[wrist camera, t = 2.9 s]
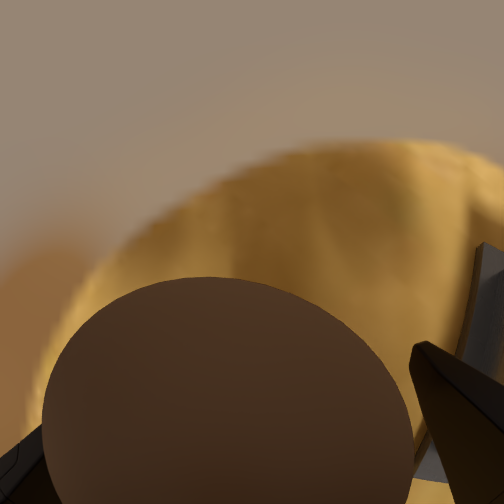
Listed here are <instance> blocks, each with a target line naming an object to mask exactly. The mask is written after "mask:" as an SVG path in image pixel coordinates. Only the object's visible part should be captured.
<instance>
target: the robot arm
mask: <svg viewBox="0 0 504 504" xmlns="http://www.w3.org/2000/svg"><path fill="white" fill-rule="evenodd" d="M409 371H410V375H411V378H412V381H413V384H414V388H415V391H416V394H417V398H418V401H419V405H420V408H421V411H422V414H423V417H424V420H425V422H426V425H427V427H428V430H429V432H430V435H431V437H432V440H433V442H434V445H435V447H436V450H437V453H438V455H439V458H440V461H441V463H442V466H443V469H444V472H445V475H446V477H447V480H448V483H449V486H450V489H451V492H452V495H453V499H454V502H455V504H504V385H502V384H501V383H499V382H497V381H496V380H494V379H492V378H490V377H489V376H487V375H485V374H484V373H482V372H480V371H478V370H477V369H475V368H473V367H472V366H470V365H468V364H467V363H465V362H463V361H461V360H460V359H458V358H456V357H455V356H453V355H451V354H449V353H448V352H446V351H444V350H442V349H441V348H439V347H437V346H436V345H434V344H432V343H430V342H428V341H423V342H419V343H416V344H414V346H413V348H412V353H411V357H410V362H409ZM0 504H62V502H61V500H60V498H59V496H58V494H57V492H56V490H55V488H54V485H53V482H52V479H51V477H50V474H49V471H48V467H47V463H46V459H45V454H44V449H43V440H42V424H41V425H40V426H38V427H37V428H36V429H35V430H34V431H32V432H31V433H30V434H29V435H28V436H26V437H25V438H24V439H23V440H22V441H20V443H18V444H17V445H16V446H14V447H13V448H12V449H11V450H9V451H8V452H7V453H6V454H4V455H3V456H2V457H1V458H0Z"/></svg>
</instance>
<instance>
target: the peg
mask: <svg viewBox="0 0 504 504" xmlns="http://www.w3.org/2000/svg"><path fill="white" fill-rule="evenodd" d="M42 440H43V449H44V454H45V459H46V463H47V467H48V471H49V474H50V477H51V479H52V482H53V485H54V488H55V490H56V492H57V494H58V496H59V498H60V500H61V502H62V504H405V503H406V500H407V498H408V494H409V490H410V486H411V482H412V478H413V468H414V454H415V453H414V441H413V431H412V426H411V423H410V419H409V415H408V411H407V408H406V405H405V403H404V400H403V398H402V396H401V394H400V391H399V389H398V387H397V385H396V383H395V381H394V380H393V378H392V376H391V375H390V373H389V372H388V370H387V369H386V367H385V366H384V364H383V363H382V361H381V360H380V359H379V358H378V356H377V355H376V354H375V353H374V352H373V351H372V350H371V349H370V347H369V346H368V345H367V344H366V343H365V342H364V341H363V340H362V339H361V338H360V337H359V336H358V335H357V334H355V333H354V332H353V331H352V330H351V329H350V328H348V327H347V326H346V325H345V324H344V323H343V322H341V321H340V320H338V319H337V318H335V317H334V316H332V315H330V314H329V313H327V312H326V311H324V310H323V309H321V308H320V307H318V306H316V305H314V304H312V303H310V302H308V301H306V300H304V299H302V298H300V297H298V296H295V295H293V294H291V293H288V292H285V291H282V290H279V289H276V288H273V287H270V286H267V285H264V284H259V283H254V282H250V281H245V280H240V279H231V278H219V277H195V278H182V279H176V280H170V281H164V282H159V283H156V284H153V285H150V286H146V287H143V288H140V289H137V290H135V291H133V292H131V293H129V294H126V295H124V296H122V297H120V298H118V299H116V300H115V301H113V302H111V303H110V304H108V305H107V306H105V307H104V308H102V309H101V310H99V311H98V312H97V313H96V314H94V315H93V316H92V317H91V318H90V319H89V320H88V321H86V322H85V323H84V324H83V325H82V326H81V327H80V328H79V330H78V331H77V332H76V333H75V334H74V335H73V337H72V338H71V339H70V340H69V342H68V343H67V345H66V346H65V348H64V349H63V351H62V353H61V354H60V356H59V358H58V360H57V362H56V364H55V366H54V368H53V370H52V373H51V375H50V379H49V382H48V385H47V388H46V392H45V397H44V403H43V410H42Z"/></svg>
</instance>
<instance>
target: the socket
mask: <svg viewBox="0 0 504 504" xmlns="http://www.w3.org/2000/svg"><path fill="white" fill-rule="evenodd" d="M455 357H456V358H458V359H460V360H461V361H463V362H465V363H467V364H468V365H470V366H472V367H473V368H475V369H477V370H478V371H480V372H482V373H484V374H485V375H487V376H489V377H490V378H492V379H494V380H496V381H497V382H499V383H501V384H502V385H504V252H502V251H500V250H498V249H497V248H495V247H493V246H491V245H489V244H487V243H485V242H483V243H482V244H481V245H480V246H478V247H477V248H476V256H475V264H474V271H473V277H472V283H471V289H470V295H469V300H468V305H467V310H466V314H465V319H464V323H463V327H462V331H461V335H460V339H459V343H458V346H457V350H456V353H455ZM413 478H417V479H423V480H429V481H435V482H442V483H448V480H447V477H446V475H445V472H444V469H443V466H442V463H441V461H440V458H439V455H438V453H437V450H436V447H435V445H434V442H433V440H432V437H431V435H430V432H429V430H427V432H426V435H425V437H424V439H423V441H422V443H421V445H420V447H419V450H418V452H417V454H416V456H415V458H414V468H413Z"/></svg>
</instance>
